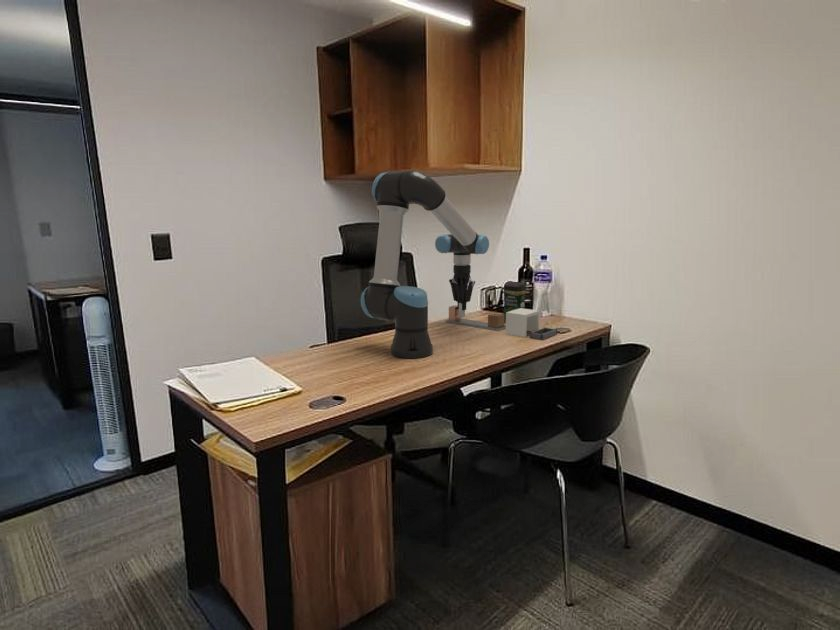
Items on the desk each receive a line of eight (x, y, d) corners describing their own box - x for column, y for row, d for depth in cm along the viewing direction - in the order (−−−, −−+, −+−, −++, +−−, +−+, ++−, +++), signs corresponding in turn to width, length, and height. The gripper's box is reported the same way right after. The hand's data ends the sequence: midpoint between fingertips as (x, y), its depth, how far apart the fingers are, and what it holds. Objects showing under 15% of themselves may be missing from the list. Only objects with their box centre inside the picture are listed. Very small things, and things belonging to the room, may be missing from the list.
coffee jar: (499, 323, 231) (500, 282, 228) (509, 320, 237) (510, 280, 234) (518, 326, 225) (519, 283, 221) (527, 323, 231) (529, 281, 227)
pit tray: (542, 341, 199) (542, 335, 199) (529, 338, 203) (529, 332, 202) (556, 335, 208) (557, 329, 208) (544, 333, 212) (544, 327, 211)
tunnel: (525, 337, 205) (525, 315, 203) (505, 334, 210) (505, 312, 209) (539, 332, 213) (539, 310, 211) (519, 329, 219) (520, 308, 217)
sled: (498, 331, 215) (498, 314, 214) (445, 322, 233) (445, 307, 232) (507, 328, 220) (507, 312, 219) (455, 319, 238) (455, 304, 237)
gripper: (479, 264, 225) (478, 317, 230) (455, 262, 233) (455, 313, 238) (469, 266, 219) (468, 320, 224) (445, 264, 228) (445, 316, 233)
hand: (461, 317), depth 231 cm, fingers closed
